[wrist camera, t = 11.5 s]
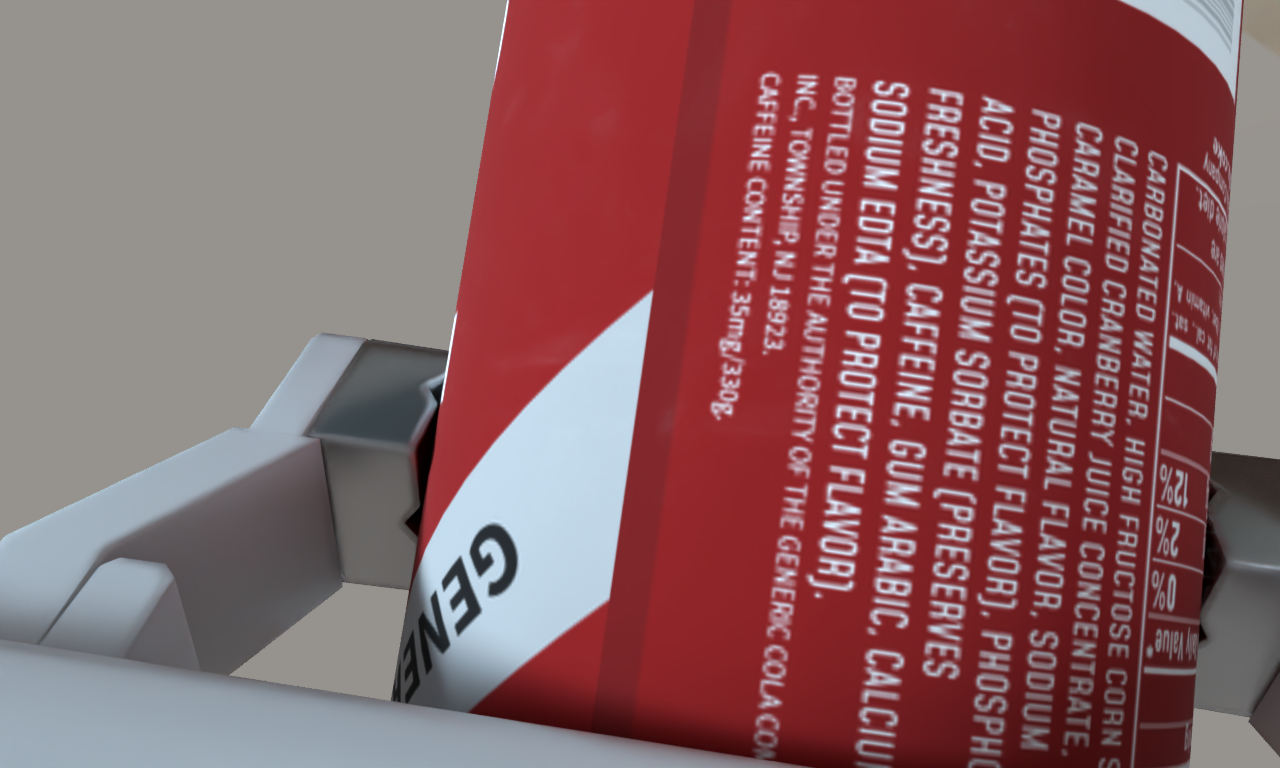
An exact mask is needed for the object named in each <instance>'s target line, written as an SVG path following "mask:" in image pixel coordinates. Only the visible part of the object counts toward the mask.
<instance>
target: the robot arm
mask: <svg viewBox="0 0 1280 768" xmlns="http://www.w3.org/2000/svg"><path fill="white" fill-rule="evenodd" d="M448 355H449V351H446V350H440V349H433V348H427V347H420V346H414V345H407V344H401V343H393V342H386V341H381V340H374V339H371V340H368V339H365V338H358V337H351V336H344V335H336V334H328V333H322V334H319V335H317V336H315V337H313V338H312V339H311V340H310V342H309V343H308V345H307V346H306V347H305V349H304V350H303V352H302V353H301V355H300V356H299V358H298V359H297V360H296V362H295V363H294V365H293V366H292V368H291V369H290V371H289V372H288V374H287V375H286V376H285V378H284V379H283V381H282V382H281V384H280V385H279V387H278V388H277V389H276V391H275V392H274V394H273V395H272V397H271V398H270V400H269V401H268V402H267V404H266V405H265V407H264V408H263V410H262V411H261V413H260V414H259V416H258V417H257V418H256V420H255V421H254V423H253V424H252V426H251V427H250V429H247V428H239V427H234V428H232V429H230V430H228V431H226V432H223V433H221V434H219V435H217V436H215V437H213V438H211V439H209V440H207V441H204V442H203V443H200V444H198V445H196V446H194V447H192V448H190V449H188V450H186V451H183V452H181V453H179V454H177V455H175V456H173V457H171V458H169V459H166V460H164V461H162V462H160V463H158V464H156V465H154V466H152V467H150V468H148V469H146V470H143V471H141V472H139V473H137V474H135V475H133V476H131V477H129V478H126V479H124V480H123V481H120V482H118V483H116V484H114V485H112V486H109V487H107V488H105V489H103V490H101V491H99V492H97V493H95V494H93V495H91V496H88V497H87V498H84V499H82V500H80V501H78V502H76V503H74V504H71V505H69V506H67V507H65V508H63V509H61V510H59V511H57V512H55V513H52V514H50V515H48V516H46V517H44V518H42V519H40V520H38V521H36V522H34V523H31V524H29V525H27V526H25V527H23V528H21V529H19V530H17V531H15V532H12V533H10V534H8V535H6V536H5V537H4V538H3V539H2V541H1V542H0V768H813V767H807V766H800V765H794V764H787V763H781V762H775V761H768V760H762V759H756V758H749V757H743V756H737V755H730V754H724V753H717V752H711V751H705V750H698V749H692V748H686V747H679V746H673V745H667V744H660V743H654V742H647V741H641V740H635V739H628V738H622V737H616V736H609V735H603V734H597V733H590V732H584V731H578V730H571V729H565V728H559V727H552V726H546V725H540V724H533V723H527V722H521V721H514V720H508V719H502V718H495V717H489V716H483V715H476V714H470V713H464V712H457V711H451V710H445V709H438V708H432V707H426V706H419V705H413V704H407V703H400V702H394V701H387V700H380V699H375V698H369V697H362V696H356V695H349V694H343V693H337V692H331V691H324V690H317V689H312V688H305V687H299V686H292V685H286V684H280V683H273V682H267V681H261V680H255V679H248V678H241V677H235V676H229V675H230V674H231V673H232V672H234V671H235V670H236V669H238V668H239V667H240V666H242V665H243V664H244V663H245V662H247V661H248V660H249V659H250V658H252V657H253V656H254V655H256V654H257V653H258V652H259V651H261V650H262V649H263V648H265V647H266V646H267V645H268V644H270V643H271V642H272V641H274V640H275V639H276V638H277V637H279V636H280V635H281V634H283V633H284V632H285V631H286V630H288V629H289V628H290V627H291V626H293V625H294V624H295V623H297V622H298V621H299V620H301V619H302V618H303V617H304V616H306V615H307V614H308V613H309V612H311V611H312V610H313V609H315V608H316V607H317V606H318V605H320V604H321V603H322V602H324V601H325V600H326V599H327V598H329V597H330V596H331V595H333V594H334V593H335V592H336V591H338V590H339V589H340V588H342V582H346V583H354V584H363V585H372V586H379V587H388V588H395V589H405V590H409V589H410V583H411V577H412V571H413V565H414V559H415V553H416V547H417V541H418V535H419V529H420V523H421V517H422V511H423V505H424V499H425V493H426V487H427V481H428V475H429V469H430V463H431V457H432V451H433V445H434V439H435V433H436V427H437V421H438V415H439V409H440V403H441V397H442V391H443V385H444V379H445V373H446V367H447V361H448ZM1194 708H1198V709H1205V710H1210V711H1216V712H1221V713H1227V714H1233V715H1239V716H1244V717H1250V720H1249V723H1250V724H1251V725H1252V726H1253V727H1254V728H1255V729H1256V731H1257V732H1258V733H1259V734H1260V735H1261V736H1262V737H1263V738H1264V740H1265V741H1266V742H1267V743H1268V744H1269V745H1270V746H1271V748H1272V749H1273V750H1274V751H1275V752H1276V753H1277V754H1278V755H1279V757H1280V459H1272V458H1264V457H1256V456H1248V455H1240V454H1232V453H1223V452H1216V451H1212V455H1211V469H1210V483H1209V498H1208V512H1207V526H1206V540H1205V554H1204V568H1203V582H1202V596H1201V611H1200V625H1199V639H1198V653H1197V667H1196V681H1195V695H1194Z"/></svg>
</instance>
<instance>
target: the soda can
mask: <svg viewBox="0 0 1280 768" xmlns="http://www.w3.org/2000/svg"><path fill="white" fill-rule="evenodd" d="M1243 3H1244V0H508V1H507V6H506V12H505V19H504V25H503V31H502V37H501V42H500V48H499V55H498V61H497V67H496V73H495V78H494V84H493V90H492V96H491V102H490V109H489V114H488V120H487V126H486V133H485V138H484V145H483V150H482V157H481V163H480V168H479V174H478V181H477V187H476V192H475V198H474V204H473V210H472V216H471V223H470V228H469V235H468V240H467V247H466V253H465V258H464V265H463V271H462V277H461V283H460V289H459V295H458V301H457V307H456V313H455V319H454V325H453V331H452V337H451V343H450V349H449V355H448V361H447V367H446V373H445V379H444V385H443V391H442V397H441V403H440V409H439V415H438V421H437V427H436V433H435V439H434V445H433V451H432V457H431V463H430V469H429V475H428V481H427V487H426V493H425V499H424V505H423V511H422V517H421V523H420V529H419V535H418V541H417V547H416V553H415V559H414V565H413V571H412V577H411V583H410V589H409V595H408V601H407V607H406V613H405V619H404V625H403V631H402V637H401V643H400V649H399V655H398V661H397V668H396V673H395V679H394V685H393V691H392V697H391V701H394V702H400V703H407V704H413V705H419V706H426V707H432V708H438V709H445V710H451V711H457V712H464V713H470V714H476V715H483V716H489V717H495V718H502V719H508V720H514V721H521V722H527V723H533V724H540V725H546V726H552V727H559V728H565V729H571V730H578V731H584V732H590V733H597V734H603V735H609V736H616V737H622V738H628V739H635V740H641V741H647V742H654V743H660V744H667V745H673V746H679V747H686V748H692V749H698V750H705V751H711V752H717V753H724V754H730V755H737V756H743V757H749V758H756V759H762V760H768V761H775V762H781V763H787V764H794V765H800V766H807V767H813V768H1189V766H1190V752H1191V751H1190V750H1191V738H1192V723H1193V709H1194V695H1195V681H1196V667H1197V653H1198V639H1199V625H1200V611H1201V596H1202V582H1203V568H1204V554H1205V540H1206V526H1207V512H1208V498H1209V483H1210V469H1211V455H1212V441H1213V426H1214V413H1215V399H1216V384H1217V370H1218V356H1219V341H1220V328H1221V314H1222V300H1223V285H1224V272H1225V257H1226V243H1227V229H1228V215H1229V201H1230V187H1231V172H1232V157H1233V143H1234V130H1235V116H1236V102H1237V88H1238V74H1239V59H1240V45H1241V31H1242V17H1243Z"/></svg>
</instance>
